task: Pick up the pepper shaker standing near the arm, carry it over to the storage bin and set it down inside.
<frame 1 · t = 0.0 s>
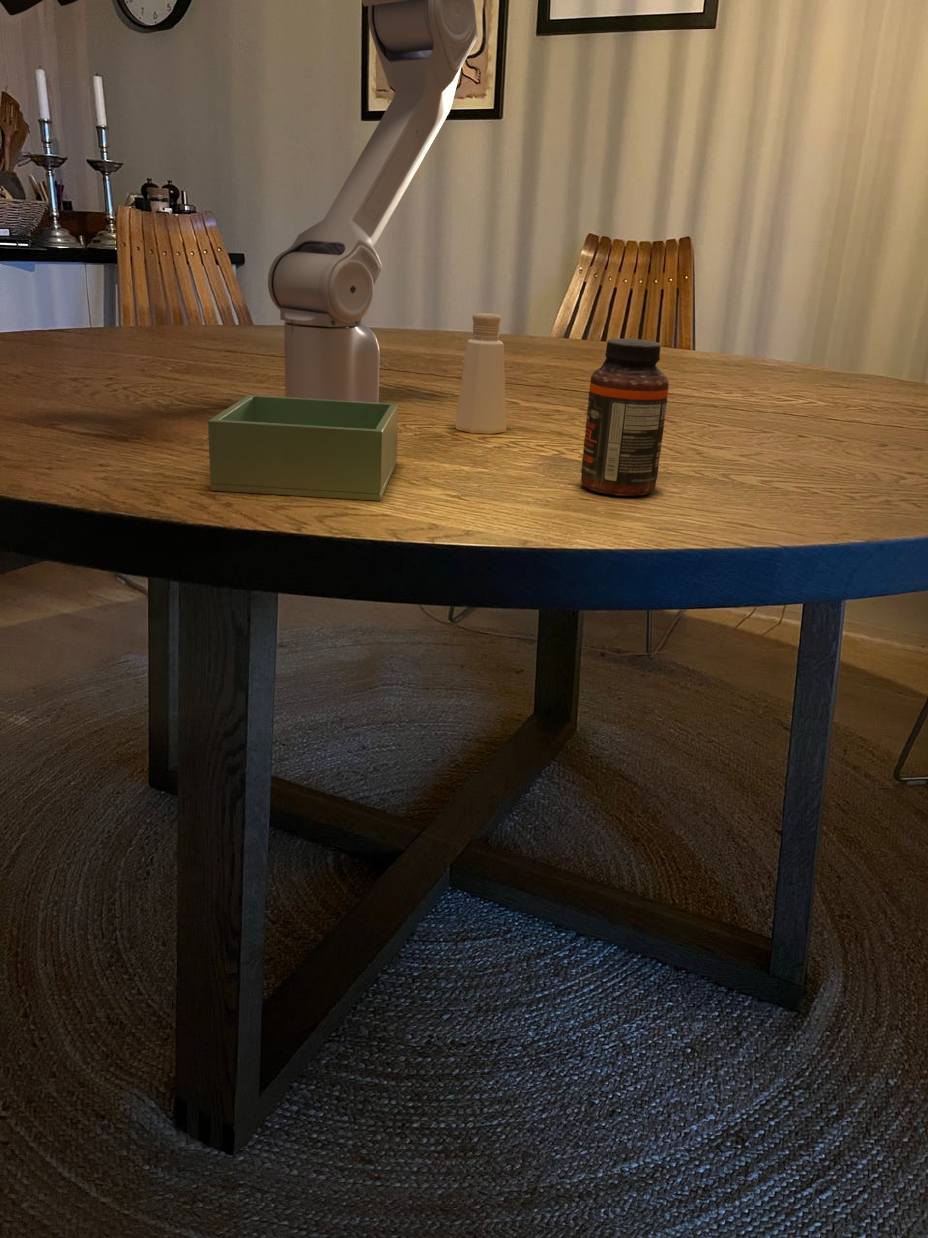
storage bin: (310, 476, 77), on the table
supplement bottle: (617, 491, 79), on the table
pepper shaker: (480, 430, 100), on the table
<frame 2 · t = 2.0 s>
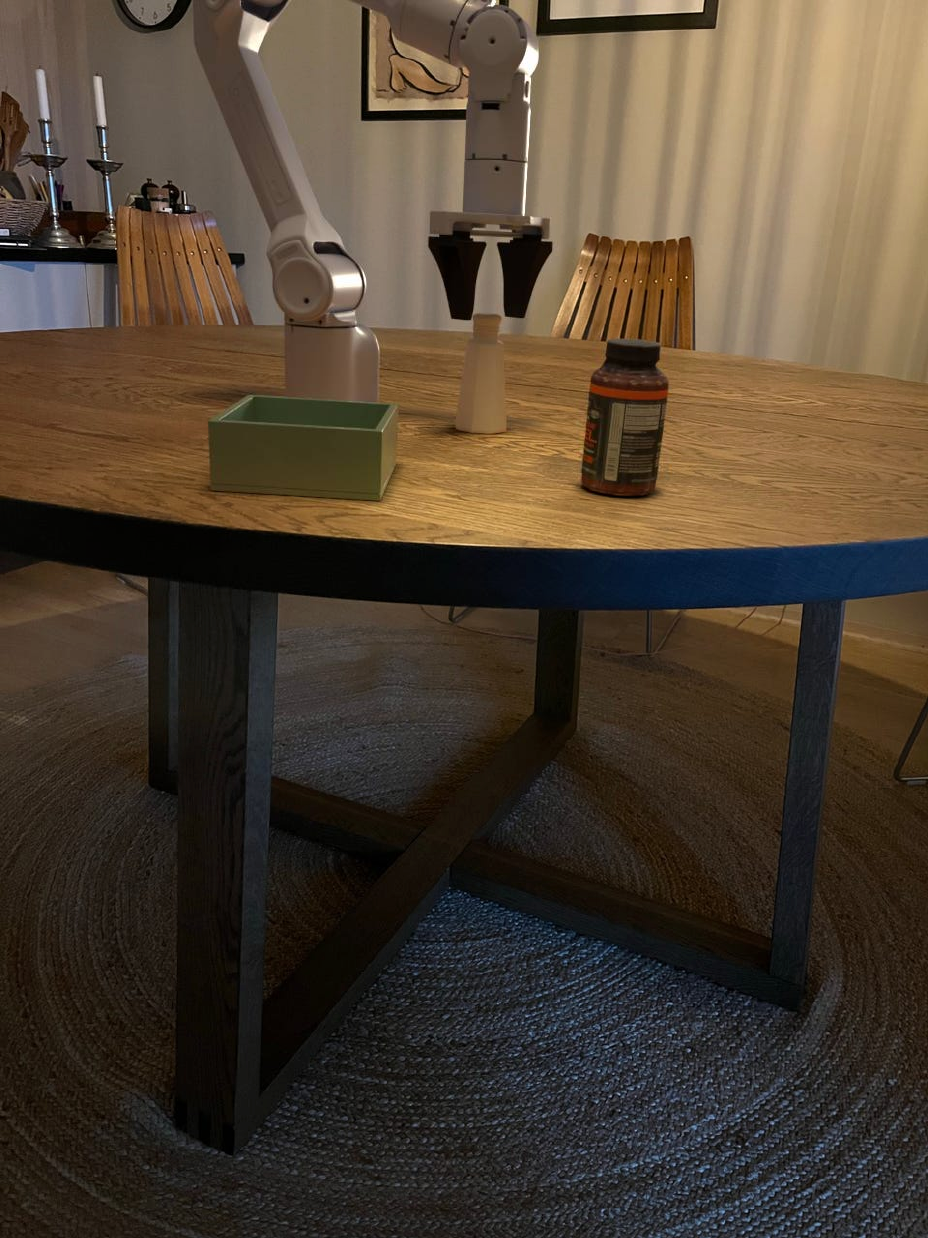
hand: (488, 318, 95), 11 cm above the table, tool pointing down, fingers open, 7 cm apart
nothing on the table moved.
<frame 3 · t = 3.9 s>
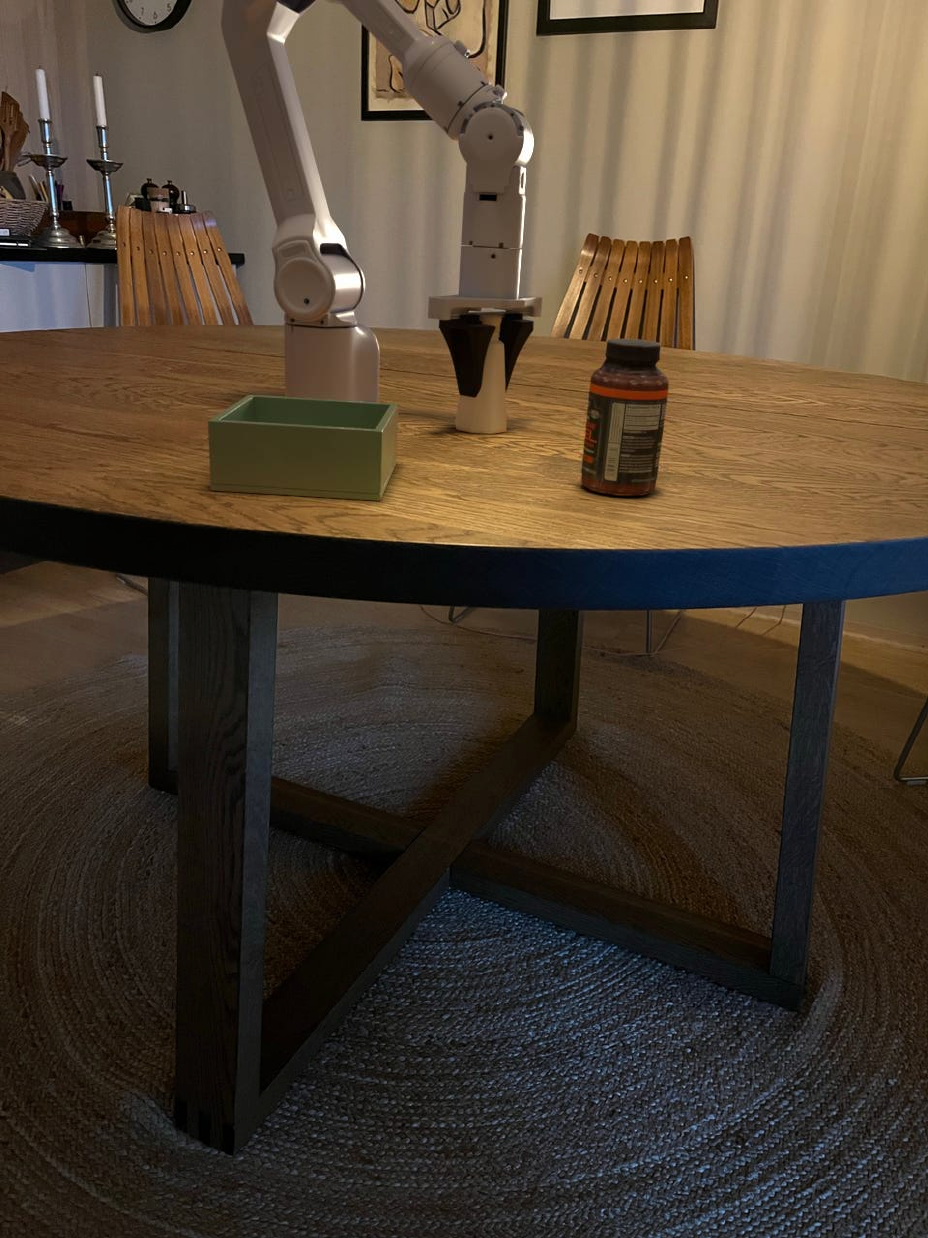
hand: (482, 394, 98), 3 cm above the table, tool pointing down, fingers closed on pepper shaker, 3 cm apart
pepper shaker: (480, 430, 100), on the table, touching gripper
everything else where it was.
when the fingers open (4 cm above the table, at t = 9.0 s): pepper shaker stays where it is, resting on storage bin.
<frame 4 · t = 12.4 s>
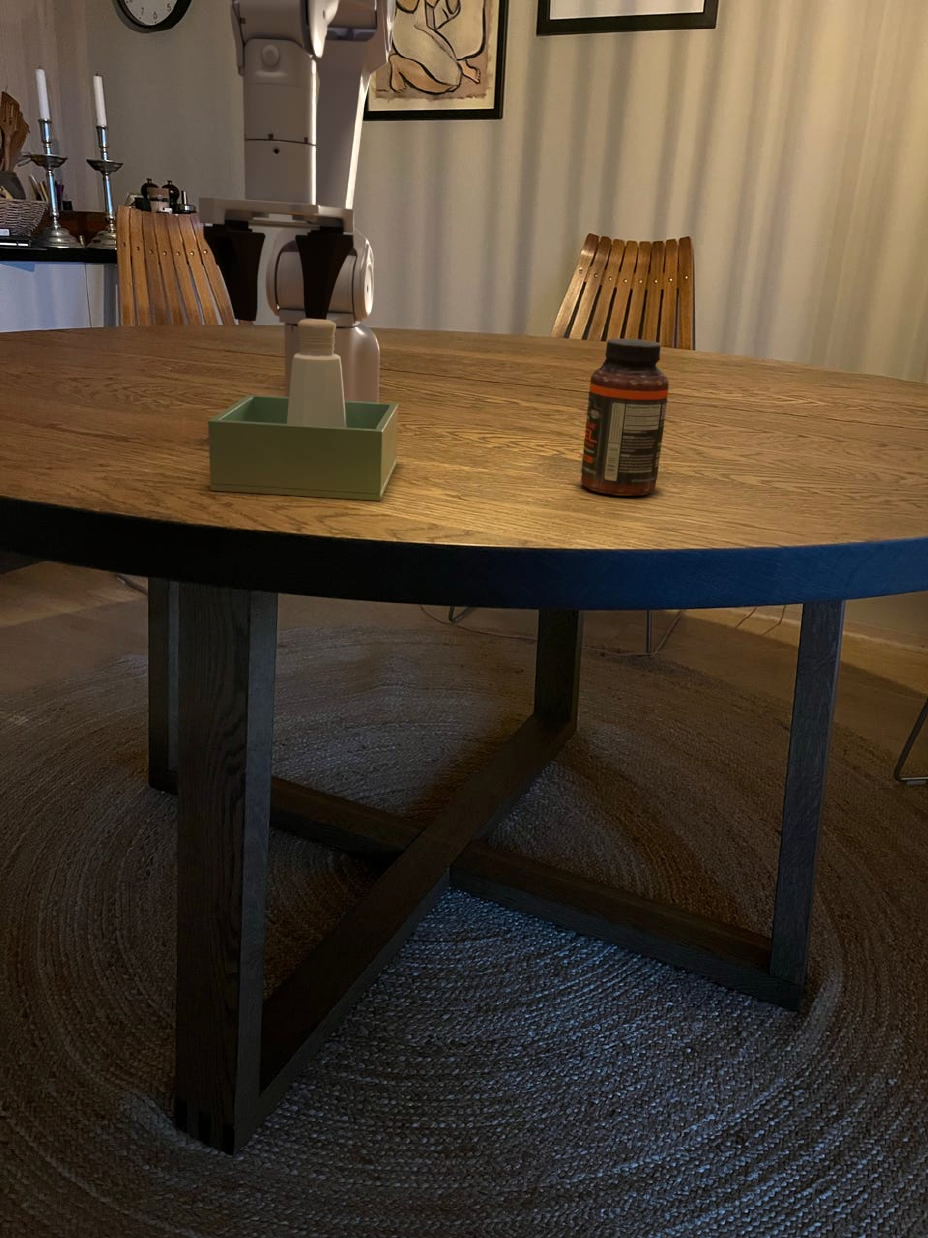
hand: (281, 319, 85), 10 cm above the table, tool pointing down, fingers open, 7 cm apart
pepper shaker: (316, 469, 78), resting on storage bin
everything else where it was.
at the end: pepper shaker inside the target area in the storage bin (1.1 cm from its centre), point 0.3 cm above the storage bin's base; the gripper is holding nothing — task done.
